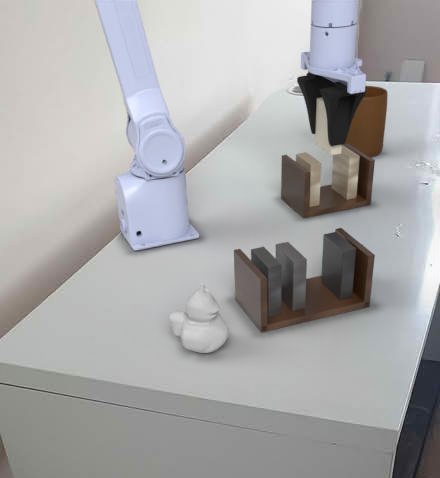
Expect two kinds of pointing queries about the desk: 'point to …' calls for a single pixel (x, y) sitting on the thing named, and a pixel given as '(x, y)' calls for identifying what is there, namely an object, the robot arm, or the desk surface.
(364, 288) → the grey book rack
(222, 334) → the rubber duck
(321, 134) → the white book
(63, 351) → the desk surface
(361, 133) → the mug
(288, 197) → the brown wooden book rack
